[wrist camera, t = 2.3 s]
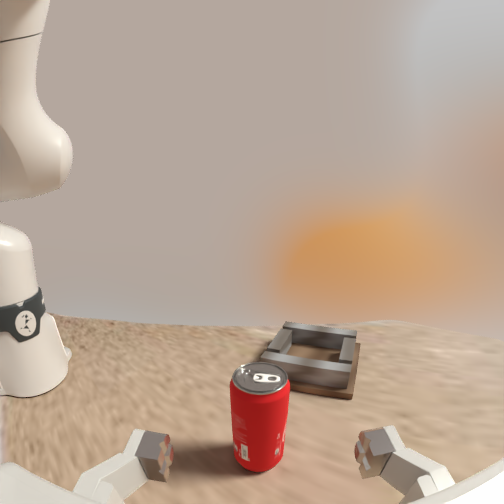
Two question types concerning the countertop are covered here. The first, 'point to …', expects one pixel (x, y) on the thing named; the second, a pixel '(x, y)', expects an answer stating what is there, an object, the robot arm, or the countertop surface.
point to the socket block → (316, 358)
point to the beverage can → (259, 414)
